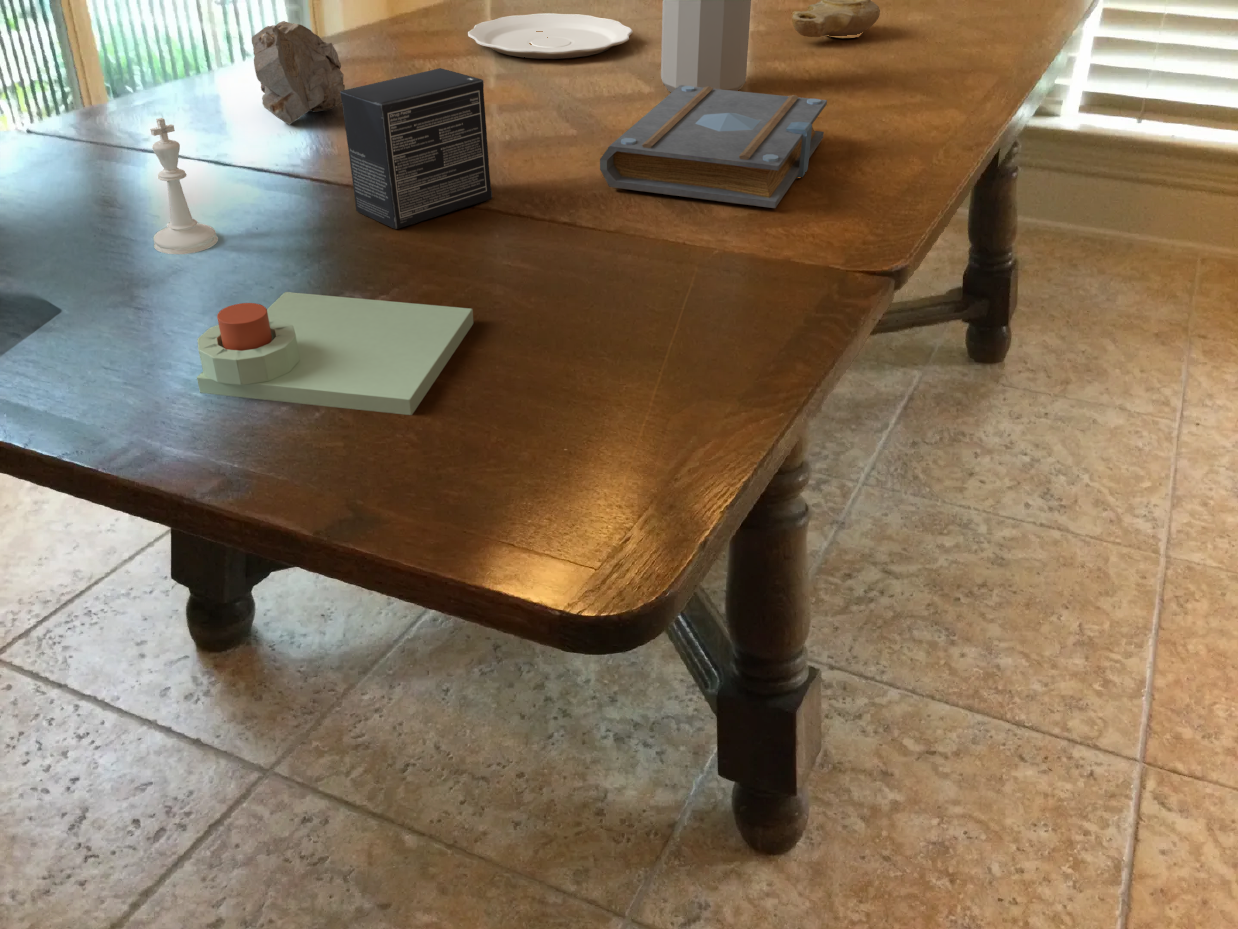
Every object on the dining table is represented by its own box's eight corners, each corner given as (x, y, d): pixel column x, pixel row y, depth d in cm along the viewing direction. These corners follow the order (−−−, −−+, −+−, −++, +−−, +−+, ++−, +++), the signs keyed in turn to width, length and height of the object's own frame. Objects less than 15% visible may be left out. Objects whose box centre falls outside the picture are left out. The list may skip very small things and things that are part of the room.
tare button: (214, 350, 72) (208, 321, 71) (236, 329, 74) (230, 300, 73) (259, 355, 72) (253, 325, 70) (280, 333, 74) (275, 304, 73)
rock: (357, 133, 127) (329, 49, 127) (356, 86, 115) (325, -7, 116) (275, 153, 124) (247, 67, 125) (265, 106, 113) (234, 12, 114)
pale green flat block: (189, 396, 72) (180, 354, 71) (281, 306, 84) (275, 267, 82) (409, 419, 70) (404, 376, 69) (473, 323, 81) (471, 284, 80)
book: (670, 124, 121) (671, 75, 118) (827, 142, 116) (832, 91, 113) (600, 190, 104) (599, 134, 101) (779, 213, 100) (784, 156, 97)
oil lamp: (785, 48, 149) (789, 7, 146) (802, 24, 160) (806, -15, 158) (869, 54, 146) (874, 12, 144) (880, 29, 158) (885, -10, 155)
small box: (449, 181, 106) (441, 64, 100) (495, 200, 102) (488, 78, 96) (351, 210, 100) (336, 86, 94) (396, 231, 96) (382, 103, 90)
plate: (490, 23, 160) (490, 10, 159) (640, 29, 157) (640, 16, 156) (451, 60, 142) (450, 46, 141) (619, 68, 140) (619, 53, 139)
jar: (725, 74, 138) (734, -92, 128) (759, 96, 130) (771, -79, 120) (648, 81, 135) (651, -88, 125) (677, 104, 127) (683, -75, 117)
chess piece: (142, 243, 93) (113, 119, 88) (197, 226, 96) (173, 105, 91) (173, 260, 90) (146, 132, 85) (229, 242, 93) (206, 118, 88)
